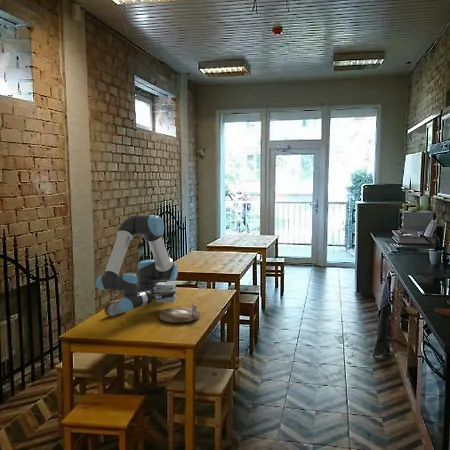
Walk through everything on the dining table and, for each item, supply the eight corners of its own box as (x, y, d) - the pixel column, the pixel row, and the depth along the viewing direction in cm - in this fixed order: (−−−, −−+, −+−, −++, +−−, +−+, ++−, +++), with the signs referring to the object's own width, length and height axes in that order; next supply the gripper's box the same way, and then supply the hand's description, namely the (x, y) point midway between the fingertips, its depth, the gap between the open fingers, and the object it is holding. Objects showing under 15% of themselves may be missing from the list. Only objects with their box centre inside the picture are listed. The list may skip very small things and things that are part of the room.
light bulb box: (176, 299, 269) (176, 281, 267) (174, 303, 262) (173, 284, 261) (158, 299, 270) (158, 281, 268) (156, 302, 263) (155, 284, 262)
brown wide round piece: (176, 308, 265) (176, 294, 264) (208, 314, 253) (208, 300, 252) (150, 318, 247) (150, 303, 246) (183, 325, 234) (183, 310, 233)
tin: (125, 311, 264) (125, 296, 263) (129, 312, 262) (128, 297, 261) (104, 317, 252) (103, 302, 251) (107, 318, 250) (107, 303, 249)
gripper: (127, 301, 257) (153, 292, 274) (160, 308, 243) (185, 298, 261) (127, 288, 256) (153, 280, 273) (160, 294, 242) (185, 285, 260)
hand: (169, 289), depth 267 cm, fingers closed on light bulb box, 12 cm apart
